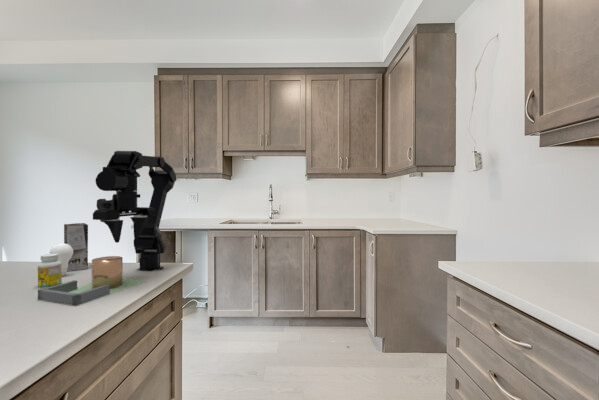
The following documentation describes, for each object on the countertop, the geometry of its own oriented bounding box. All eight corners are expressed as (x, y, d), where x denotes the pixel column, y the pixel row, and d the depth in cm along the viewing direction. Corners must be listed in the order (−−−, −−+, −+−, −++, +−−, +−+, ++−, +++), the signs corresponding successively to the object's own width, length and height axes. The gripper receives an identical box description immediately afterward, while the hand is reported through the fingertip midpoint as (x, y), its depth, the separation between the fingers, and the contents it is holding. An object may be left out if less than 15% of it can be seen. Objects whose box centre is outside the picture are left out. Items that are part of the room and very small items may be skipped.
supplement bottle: (64, 286, 90) (64, 254, 90) (42, 291, 85) (42, 257, 85) (56, 283, 92) (56, 252, 92) (34, 288, 88) (34, 255, 88)
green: (112, 278, 98) (112, 276, 98) (146, 282, 95) (146, 280, 95) (37, 301, 77) (37, 299, 77) (76, 308, 73) (76, 305, 73)
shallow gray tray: (73, 288, 86) (73, 280, 86) (109, 293, 82) (109, 284, 82) (37, 299, 77) (37, 290, 77) (75, 305, 74) (75, 295, 73)
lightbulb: (78, 274, 102) (77, 242, 102) (62, 279, 96) (62, 245, 96) (61, 273, 103) (61, 241, 103) (44, 278, 97) (44, 244, 97)
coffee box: (88, 268, 110) (88, 224, 110) (66, 271, 106) (66, 225, 105) (84, 264, 117) (84, 222, 116) (63, 266, 113) (63, 223, 112)
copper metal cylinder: (109, 281, 94) (109, 255, 94) (128, 283, 92) (128, 257, 91) (85, 288, 86) (85, 260, 86) (105, 291, 84) (105, 262, 84)
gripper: (130, 190, 106) (130, 235, 107) (78, 190, 88) (78, 243, 89) (157, 191, 103) (156, 237, 103) (107, 191, 85) (107, 246, 86)
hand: (126, 240), depth 95 cm, fingers open, 7 cm apart
